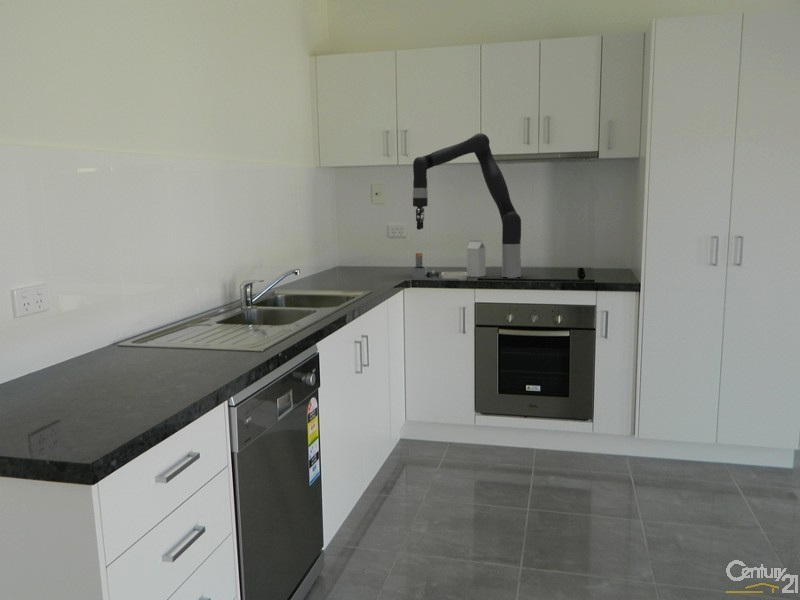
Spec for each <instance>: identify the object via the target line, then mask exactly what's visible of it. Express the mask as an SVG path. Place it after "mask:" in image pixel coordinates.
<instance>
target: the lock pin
mask: <svg viewBox="0 0 800 600" xmlns="http://www.w3.org/2000/svg"><path fill="white" fill-rule="evenodd" d="M415 267H416V268H422V267H423V253H422V252H420V253H419V252H417V253H415Z"/></svg>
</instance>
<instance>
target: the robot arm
mask: <svg viewBox="0 0 800 600" xmlns="http://www.w3.org/2000/svg"><path fill="white" fill-rule="evenodd" d="M473 153H474V155H475V157H476V159H477V160H478V162H479V163H478V164H479V165H480V169H481V173H482V175H483V178H484V182H485V184H486V187H487V189H488V191H489V194H490V195H491V197H492V199H493V201H494V203H495V204H496V206H497V209H498V212H499V215H500V220H501V224H502V232H501V233H502V239H501V244H502V245H501V249H502V250H501V253H502V255H501V257H502V262H501V270H502V271H501V272H502V273H501V277H502V278H503V277H507V278H506V279H518V278H517V277H522V276H521V274H522V273H521V272H522V271H521V270H522V269H521V268H522V264H521V261H522V259H521V244H522V243H521V241H522V219H521V216H520V215H519V214H518V213H517V211H516V209H515V206H514V205H513V203H512V200H511V198H510V193H509V188H508V186H507V182H506V180H505V177H504V175H503V173H502V171H501V168H500V167H499V166H498V164H497V163H496V161H495V159H494V156H493V153H492V150H491V146H490V139H489V137H488V136H487V135H486V134H485V133H480V132H479V133H476V134H474V135H473V136H472V137H469V138H468V139H466V140H464V141H461V142H460V143H457V144H454V145H451V146H446V147H444V148H442V149H441V148H440V149H438V150H435V151H434V152H431V153H429V154H426V155H424V156H423V155H422V156H418V157H416V158H415V159H413V164H412V168H413V170H412V171H413V185H412V187H413V189H412V207H414V208H415V207H416V208H415V222H416V229H417V230H418V231H419V230H422V229H424V221H425V207H428V205H429V204H428V202H429V200H428V198H429V197H428V195H429V194H428V193H429V192H428V176H427V173H428V170H429V169H431V168H434V167H437V166H440V165H442V164H447V163H449V162H452V161H453V160H456V159H458V158H459V157H462V156H464V155H465V156H466V155H469V154H473Z"/></svg>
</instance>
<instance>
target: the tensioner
mask: <svg viewBox="0 0 800 600" xmlns="http://www.w3.org/2000/svg"><path fill="white" fill-rule="evenodd" d="M427 269H428V268H427V266H422V268H416V266H412V268H411V279H439V278H441V274H440V271H436V270H434V269H433V270H432V269H431V270H430V271H427Z"/></svg>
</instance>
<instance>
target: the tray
mask: <svg viewBox="0 0 800 600" xmlns="http://www.w3.org/2000/svg"><path fill="white" fill-rule="evenodd" d="M440 279H456V281H460V282H461V281H463V282H464V281H467V280H468V277H467V271H442V272H441V274H440Z"/></svg>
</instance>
